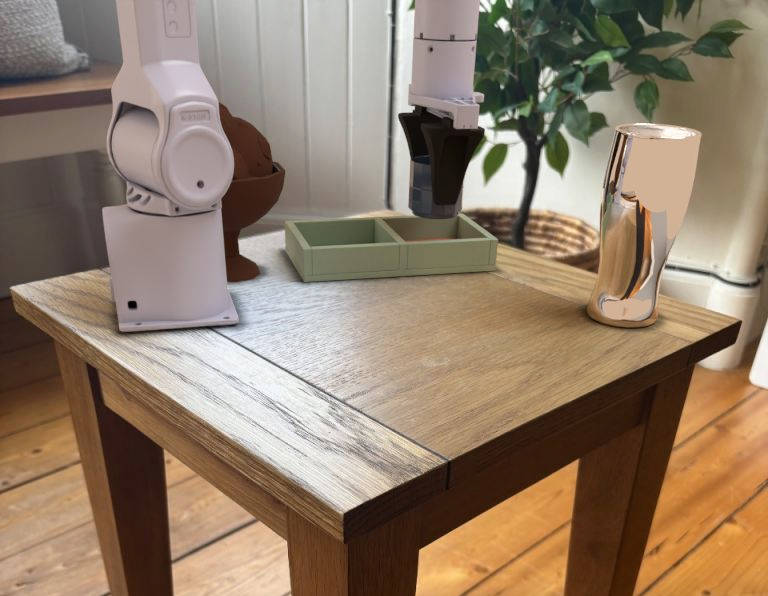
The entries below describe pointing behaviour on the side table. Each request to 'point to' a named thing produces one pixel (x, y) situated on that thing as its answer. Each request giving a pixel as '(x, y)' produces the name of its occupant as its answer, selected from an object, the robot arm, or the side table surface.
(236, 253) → the ice cream bowl
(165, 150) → the robot arm
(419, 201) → the handleless cup
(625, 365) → the side table surface
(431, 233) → the tray
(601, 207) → the beer glass
